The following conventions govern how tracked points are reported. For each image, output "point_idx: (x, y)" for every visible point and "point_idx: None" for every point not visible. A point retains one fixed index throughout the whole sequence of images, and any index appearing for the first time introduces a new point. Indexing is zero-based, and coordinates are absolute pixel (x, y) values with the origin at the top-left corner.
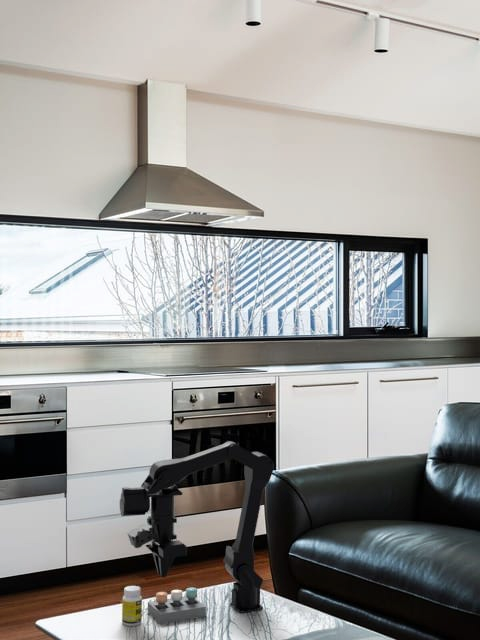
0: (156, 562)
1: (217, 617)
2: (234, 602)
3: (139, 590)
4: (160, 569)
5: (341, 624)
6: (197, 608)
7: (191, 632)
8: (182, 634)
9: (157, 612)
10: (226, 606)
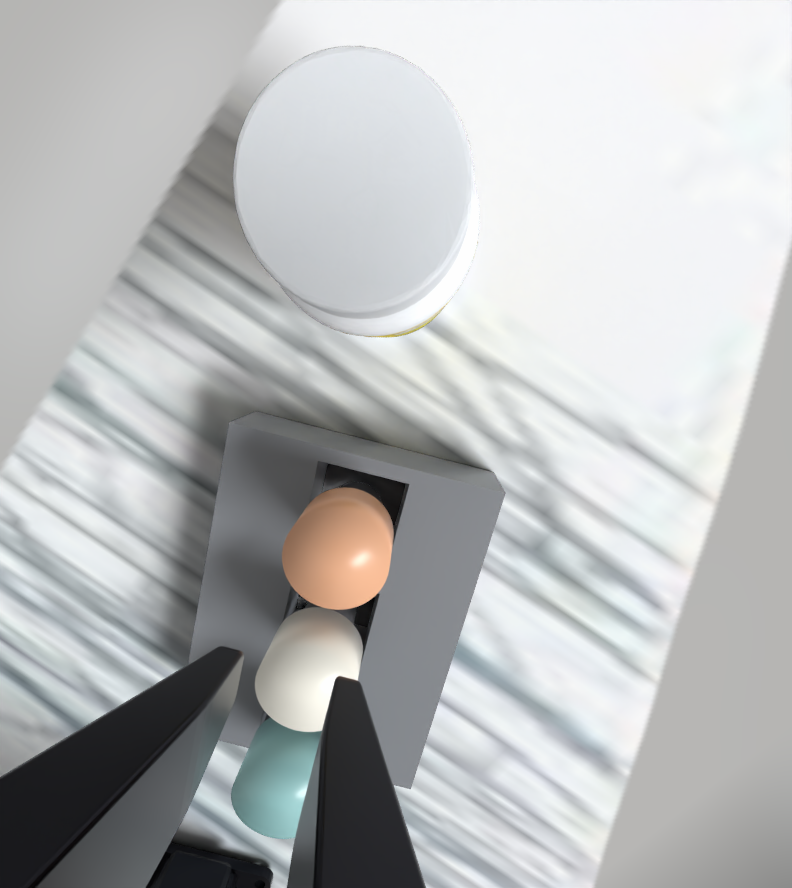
0: (312, 873)
1: None
2: (176, 884)
3: (254, 249)
4: (122, 724)
5: None
6: None
7: (34, 478)
8: (32, 417)
9: (292, 435)
10: (269, 841)
